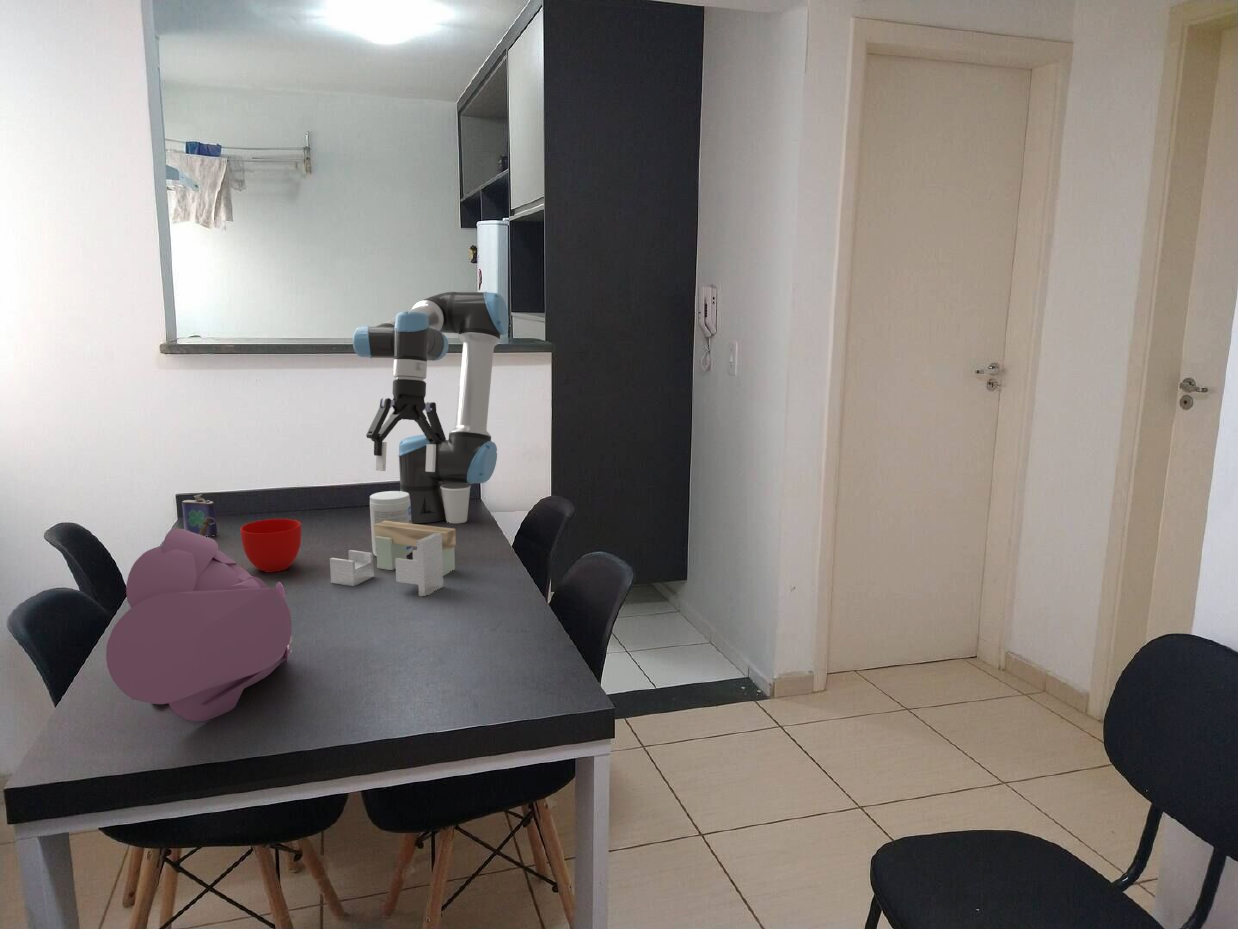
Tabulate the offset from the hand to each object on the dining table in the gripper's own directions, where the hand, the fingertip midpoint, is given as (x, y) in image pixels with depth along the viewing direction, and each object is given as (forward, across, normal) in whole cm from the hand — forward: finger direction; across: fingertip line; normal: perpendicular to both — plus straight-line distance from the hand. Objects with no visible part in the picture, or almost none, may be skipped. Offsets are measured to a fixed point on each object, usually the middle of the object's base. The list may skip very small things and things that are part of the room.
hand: (406, 471), depth 208 cm
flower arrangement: (+35, -56, -31) cm, 73 cm away
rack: (+22, +2, -3) cm, 23 cm away
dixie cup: (+14, +34, +24) cm, 44 cm away
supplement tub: (+21, +5, +11) cm, 24 cm away
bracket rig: (+24, -10, -8) cm, 27 cm away
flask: (+20, -20, +61) cm, 67 cm away
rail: (+16, +1, -4) cm, 17 cm away
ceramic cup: (+23, -19, +22) cm, 37 cm away
